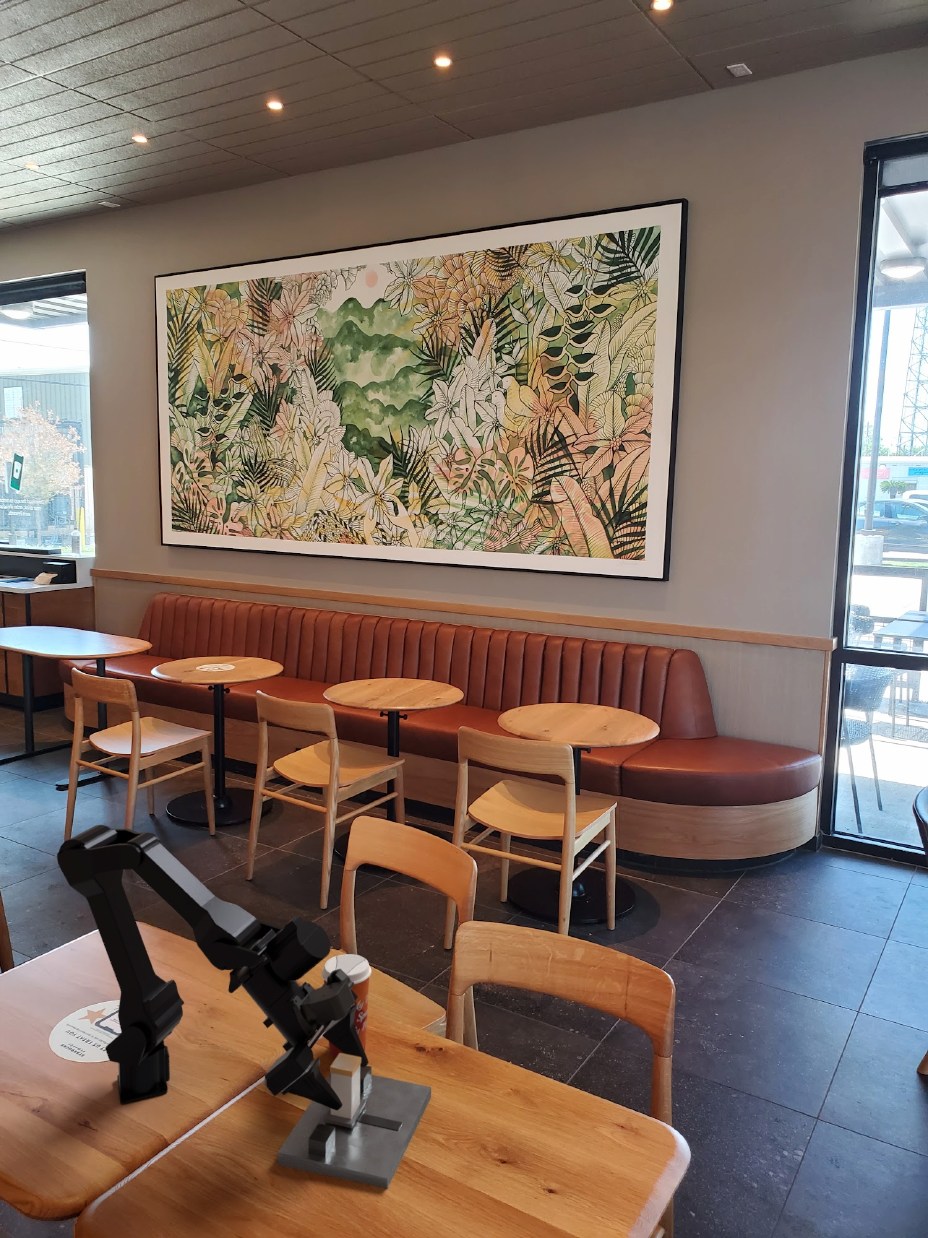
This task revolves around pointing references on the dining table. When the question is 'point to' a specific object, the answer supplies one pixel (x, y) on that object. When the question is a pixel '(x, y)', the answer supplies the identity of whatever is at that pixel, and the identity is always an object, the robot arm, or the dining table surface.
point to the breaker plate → (359, 1133)
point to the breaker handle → (346, 1090)
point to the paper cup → (359, 975)
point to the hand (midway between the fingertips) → (353, 1086)
